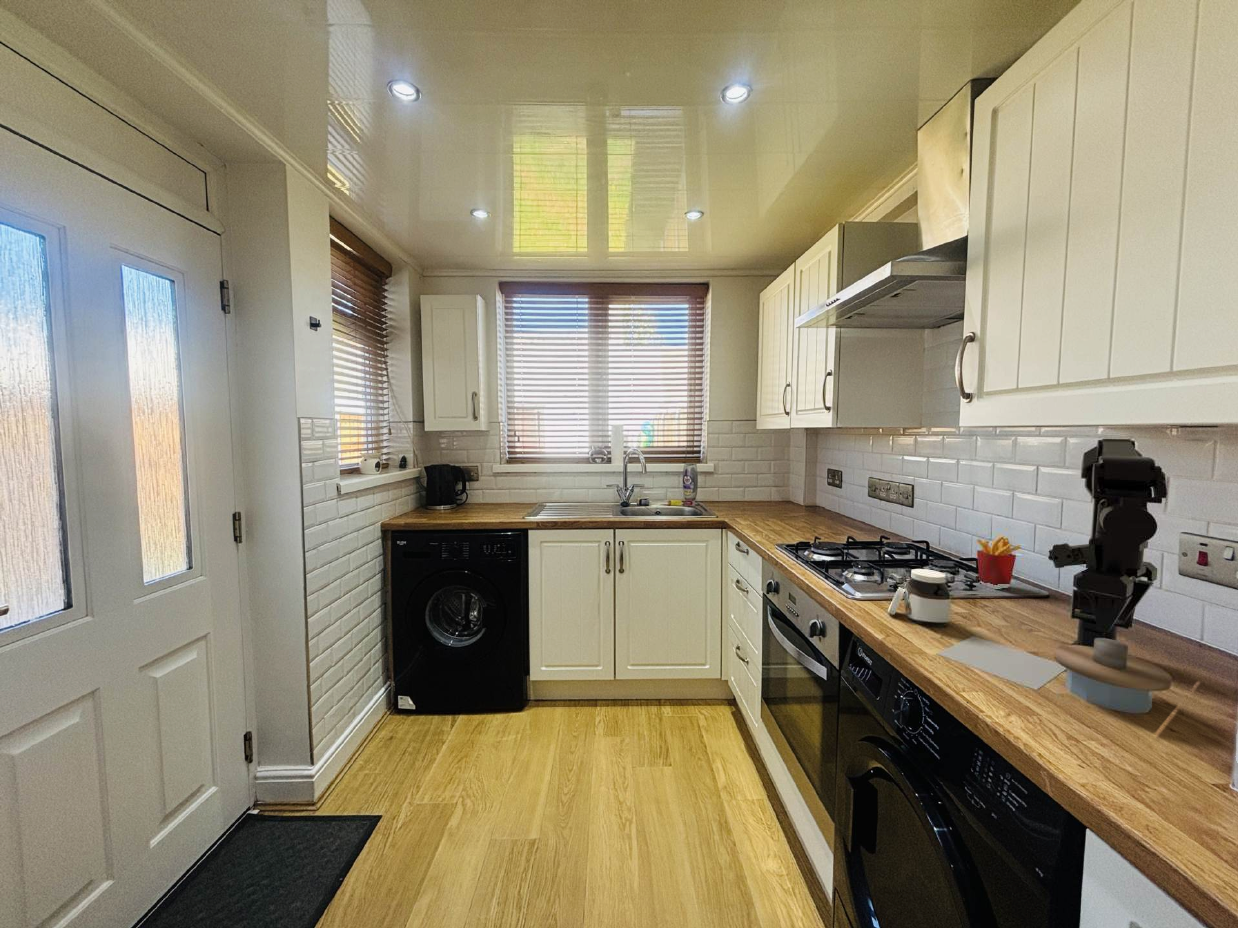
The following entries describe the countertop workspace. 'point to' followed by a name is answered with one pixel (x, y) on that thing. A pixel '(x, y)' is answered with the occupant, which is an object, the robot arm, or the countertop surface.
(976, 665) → the mat
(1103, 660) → the lid
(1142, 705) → the bowl
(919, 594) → the spread jar
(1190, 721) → the countertop surface
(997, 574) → the french fries
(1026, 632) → the countertop surface
